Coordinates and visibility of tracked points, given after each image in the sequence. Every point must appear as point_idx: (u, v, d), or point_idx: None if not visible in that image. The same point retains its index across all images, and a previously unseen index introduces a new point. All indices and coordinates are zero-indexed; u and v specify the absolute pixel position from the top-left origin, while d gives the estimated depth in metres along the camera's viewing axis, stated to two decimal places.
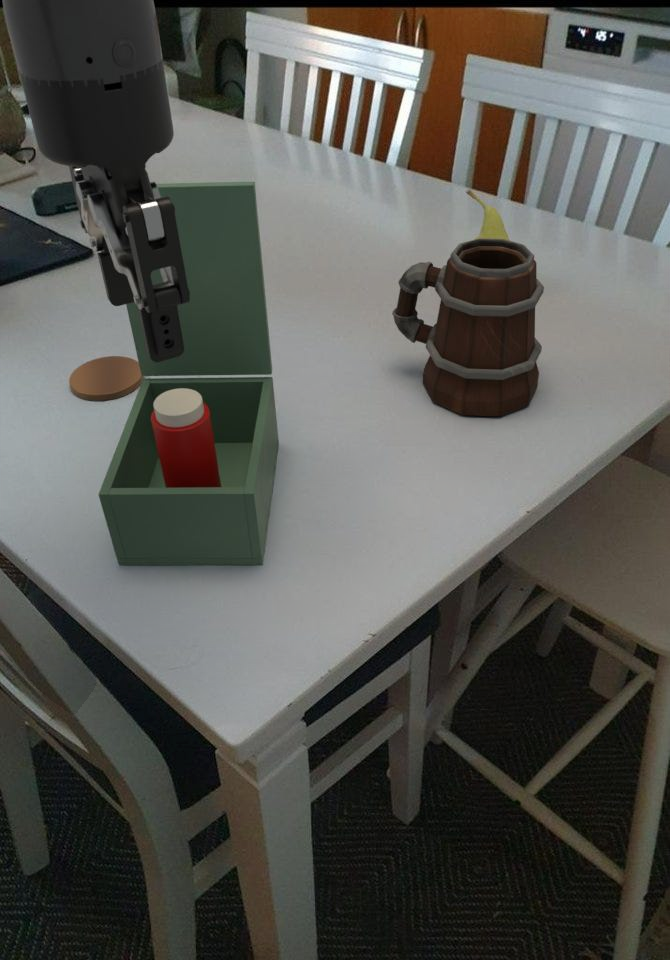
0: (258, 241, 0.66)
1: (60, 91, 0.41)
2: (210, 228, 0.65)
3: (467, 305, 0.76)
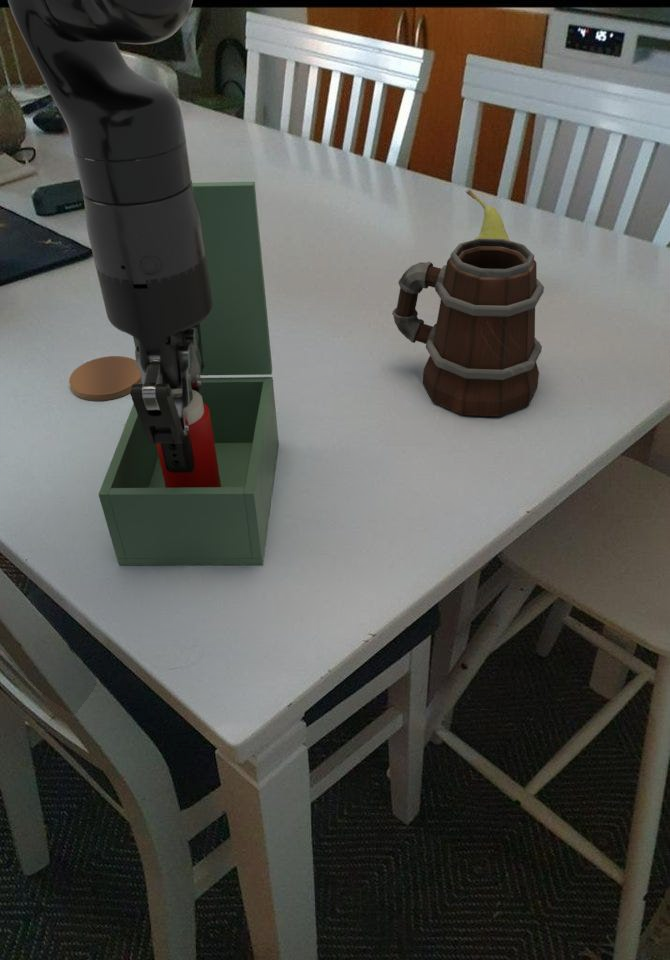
0: (258, 241, 0.66)
1: (106, 281, 0.54)
2: (210, 228, 0.65)
3: (467, 305, 0.76)
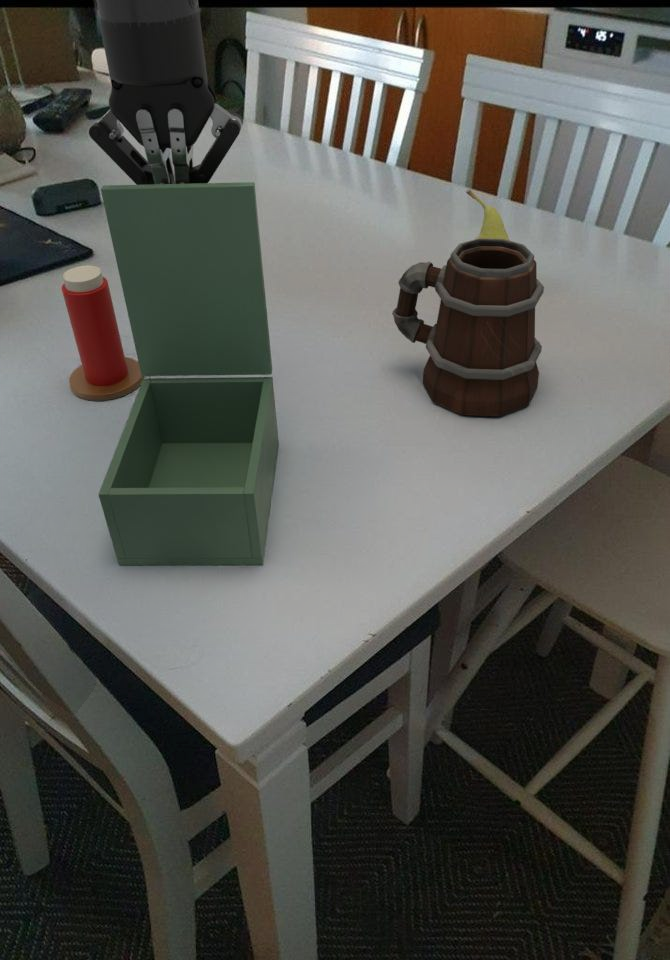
0: (258, 242, 0.66)
1: None
2: (210, 229, 0.65)
3: (467, 305, 0.76)
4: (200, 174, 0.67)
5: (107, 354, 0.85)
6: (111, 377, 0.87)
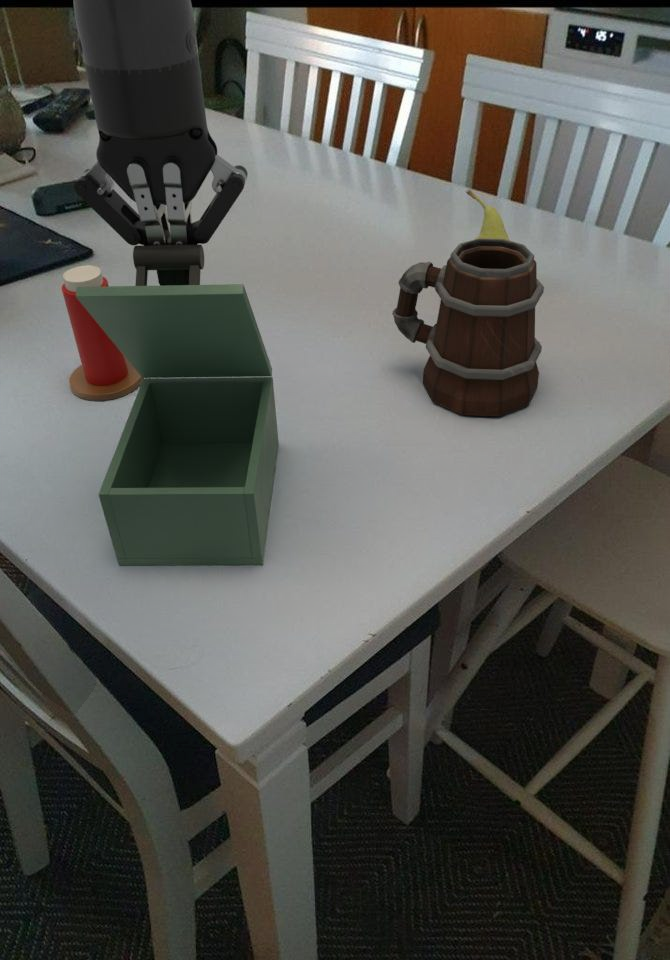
0: (251, 319, 0.62)
1: None
2: (199, 314, 0.61)
3: (467, 305, 0.76)
4: (199, 232, 0.60)
5: (107, 354, 0.85)
6: (111, 377, 0.87)
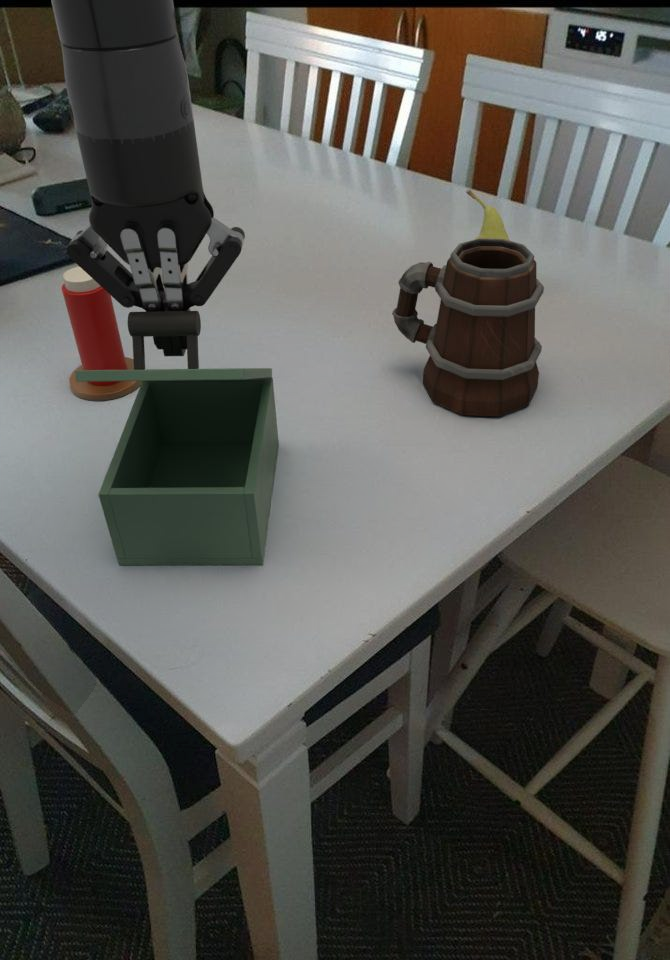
0: (252, 377, 0.62)
1: None
2: None
3: (467, 305, 0.76)
4: (195, 295, 0.59)
5: (107, 354, 0.85)
6: None
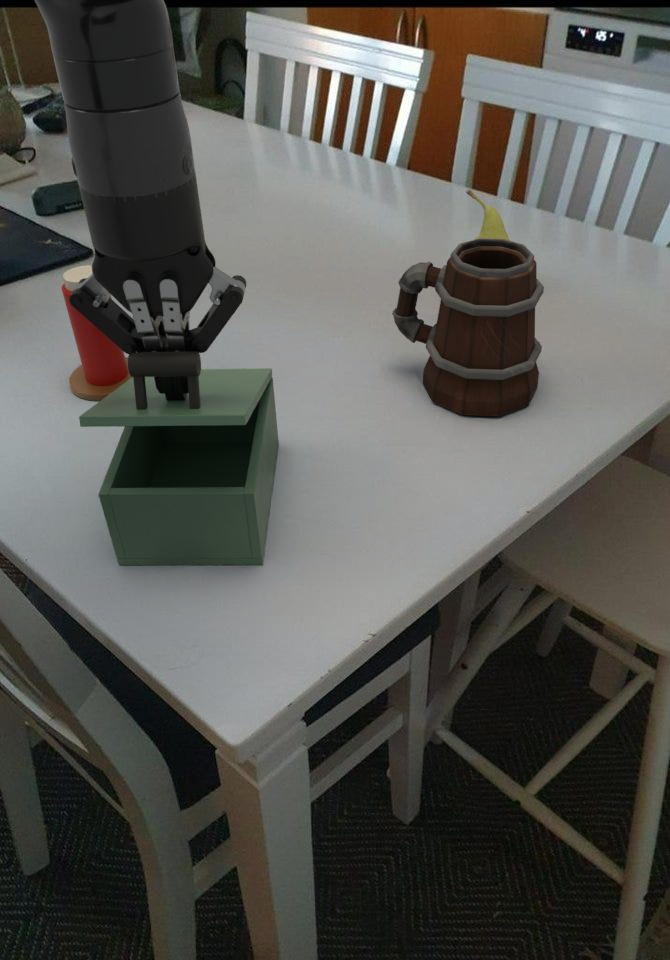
0: (253, 408, 0.63)
1: None
2: None
3: (467, 305, 0.76)
4: (197, 342, 0.59)
5: (107, 354, 0.85)
6: (111, 377, 0.87)
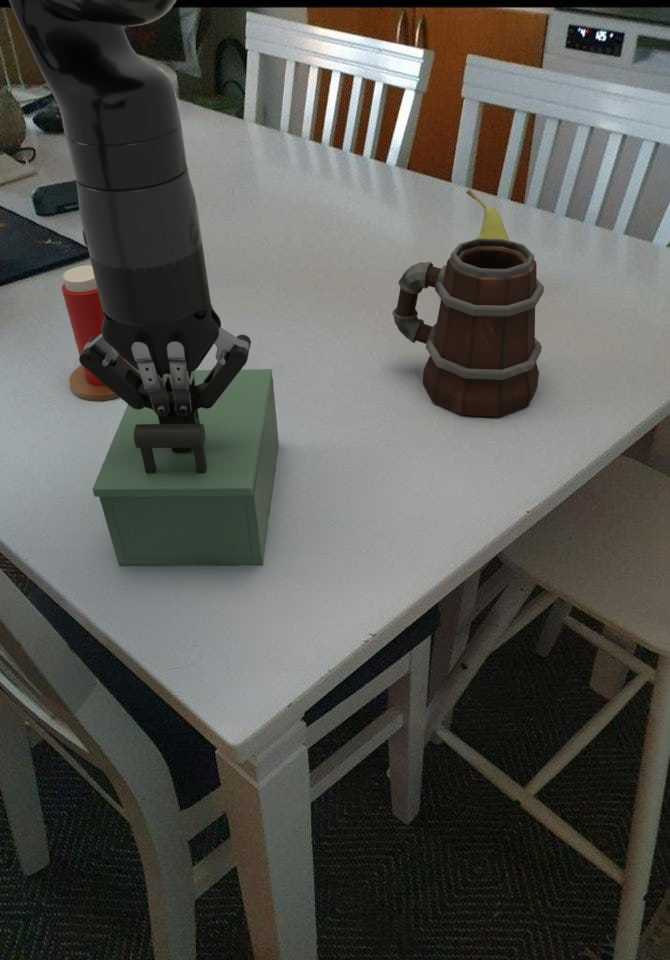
0: (257, 458, 0.65)
1: None
2: None
3: (467, 305, 0.76)
4: (203, 399, 0.61)
5: None
6: None
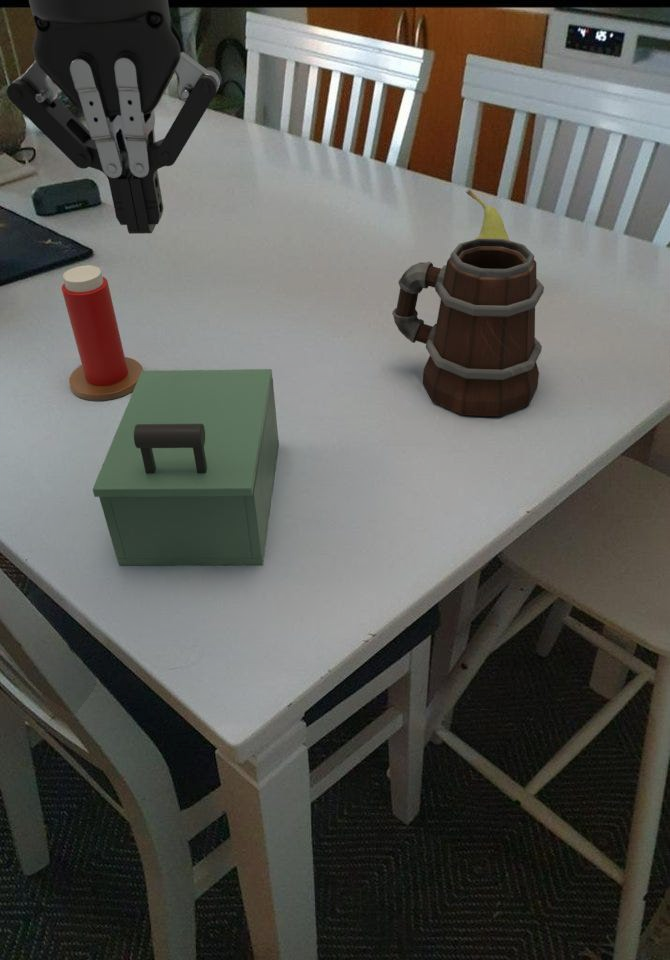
0: (257, 458, 0.65)
1: None
2: None
3: (467, 305, 0.76)
4: (163, 151, 0.49)
5: (107, 354, 0.85)
6: (111, 377, 0.87)
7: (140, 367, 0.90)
